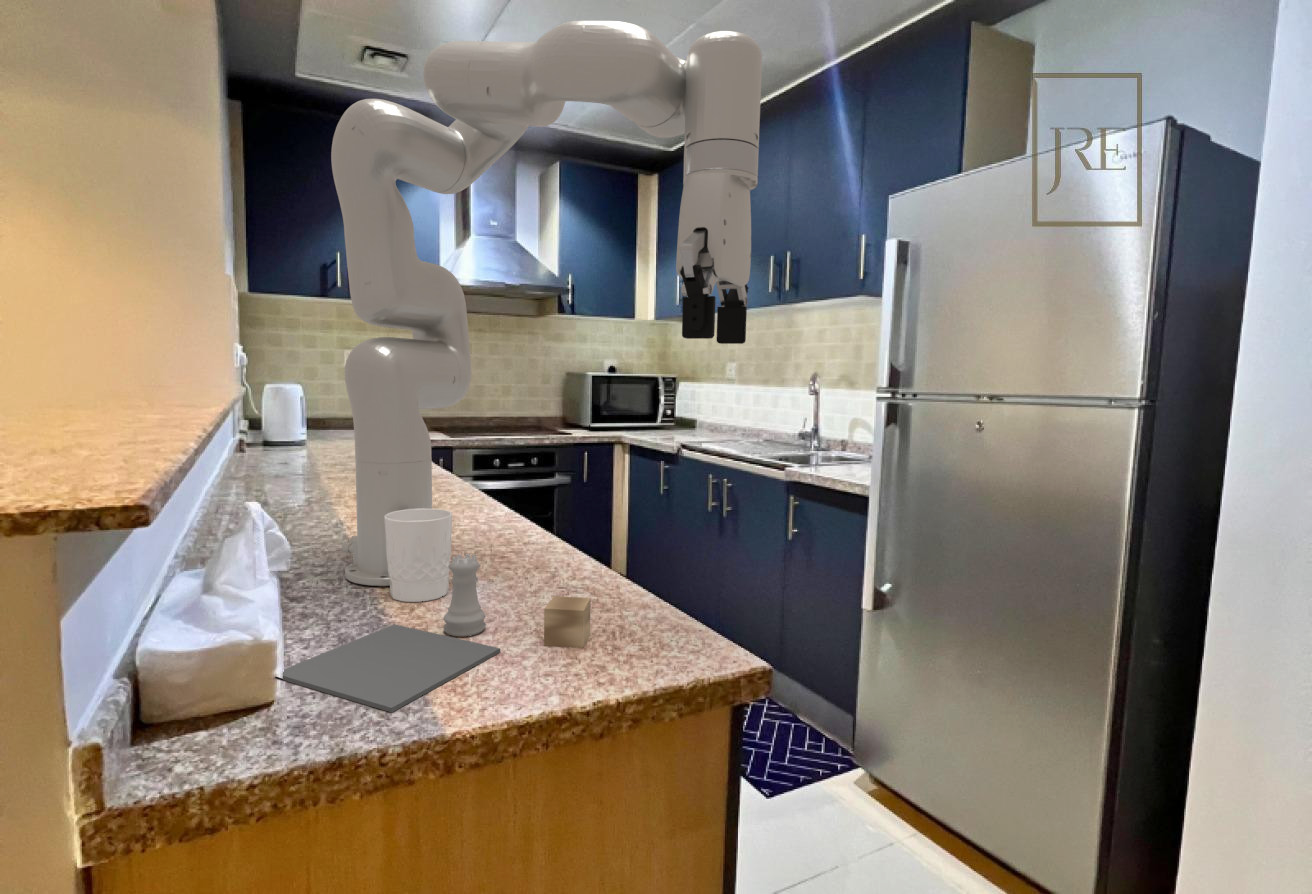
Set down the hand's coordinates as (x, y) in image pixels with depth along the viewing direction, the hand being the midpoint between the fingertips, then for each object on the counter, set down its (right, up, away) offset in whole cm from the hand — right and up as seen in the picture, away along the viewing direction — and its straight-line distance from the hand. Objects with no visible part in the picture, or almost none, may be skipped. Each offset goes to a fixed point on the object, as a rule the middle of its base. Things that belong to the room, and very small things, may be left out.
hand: (715, 341), depth 72 cm
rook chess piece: (-27, -31, +2) cm, 41 cm away
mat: (-31, -31, -7) cm, 45 cm away
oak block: (-15, -31, 0) cm, 35 cm away
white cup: (-35, -29, +14) cm, 48 cm away
